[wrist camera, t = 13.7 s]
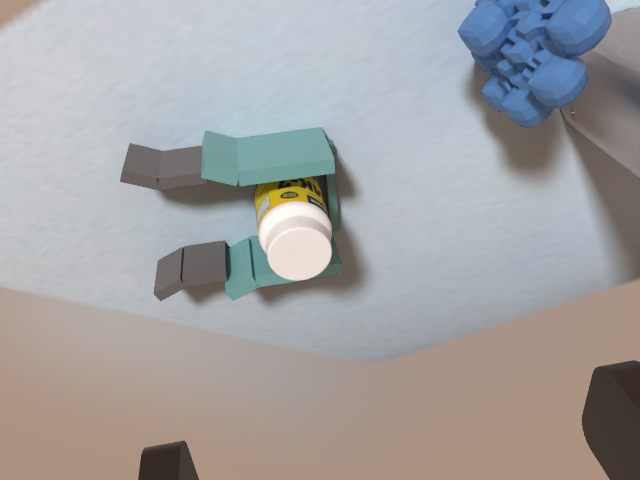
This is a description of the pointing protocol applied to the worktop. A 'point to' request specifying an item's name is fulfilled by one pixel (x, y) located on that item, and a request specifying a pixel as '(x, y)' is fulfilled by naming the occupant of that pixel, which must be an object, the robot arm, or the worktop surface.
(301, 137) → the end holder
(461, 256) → the worktop surface
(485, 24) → the grapes
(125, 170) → the pair of grey blocks
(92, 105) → the worktop surface
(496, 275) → the worktop surface
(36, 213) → the worktop surface
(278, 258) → the supplement bottle
